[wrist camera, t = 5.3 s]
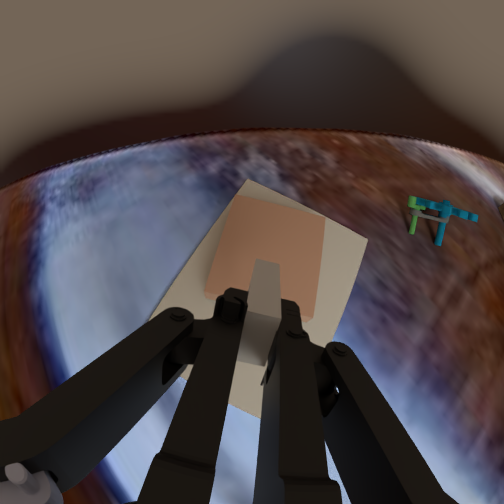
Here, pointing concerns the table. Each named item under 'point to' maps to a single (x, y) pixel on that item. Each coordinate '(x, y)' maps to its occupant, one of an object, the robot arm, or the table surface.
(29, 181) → the table surface
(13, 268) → the table surface
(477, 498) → the table surface
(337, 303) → the felt mat
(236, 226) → the tile
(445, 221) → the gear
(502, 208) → the dark hardcover book
